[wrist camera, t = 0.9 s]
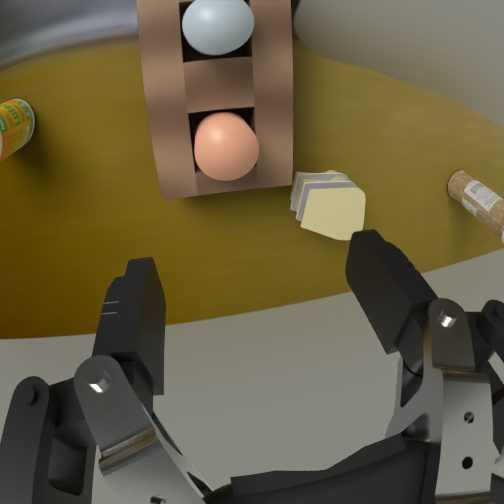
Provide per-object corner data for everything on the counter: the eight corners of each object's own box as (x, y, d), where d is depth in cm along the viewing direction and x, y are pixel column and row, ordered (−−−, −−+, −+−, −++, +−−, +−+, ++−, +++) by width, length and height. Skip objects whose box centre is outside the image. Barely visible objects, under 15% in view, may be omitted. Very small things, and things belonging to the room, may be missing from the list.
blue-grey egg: (184, 9, 16) (180, -4, 12) (241, 5, 16) (252, -9, 12) (187, 58, 19) (184, 57, 15) (244, 54, 19) (255, 51, 15)
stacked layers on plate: (267, 222, 33) (279, 251, 29) (281, 145, 28) (298, 164, 23) (345, 225, 35) (364, 252, 31) (365, 158, 30) (392, 178, 26)
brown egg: (192, 112, 21) (191, 124, 17) (246, 106, 22) (258, 117, 18) (198, 161, 24) (198, 184, 20) (249, 155, 25) (260, 177, 21)
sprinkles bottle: (444, 199, 35) (506, 256, 24) (448, 171, 32) (517, 225, 21) (464, 194, 35) (524, 246, 24) (468, 166, 32) (534, 216, 21)
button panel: (146, -72, 11) (138, -93, 7) (268, -80, 12) (282, -101, 8) (168, 177, 27) (162, 200, 24) (278, 165, 29) (292, 185, 25)
